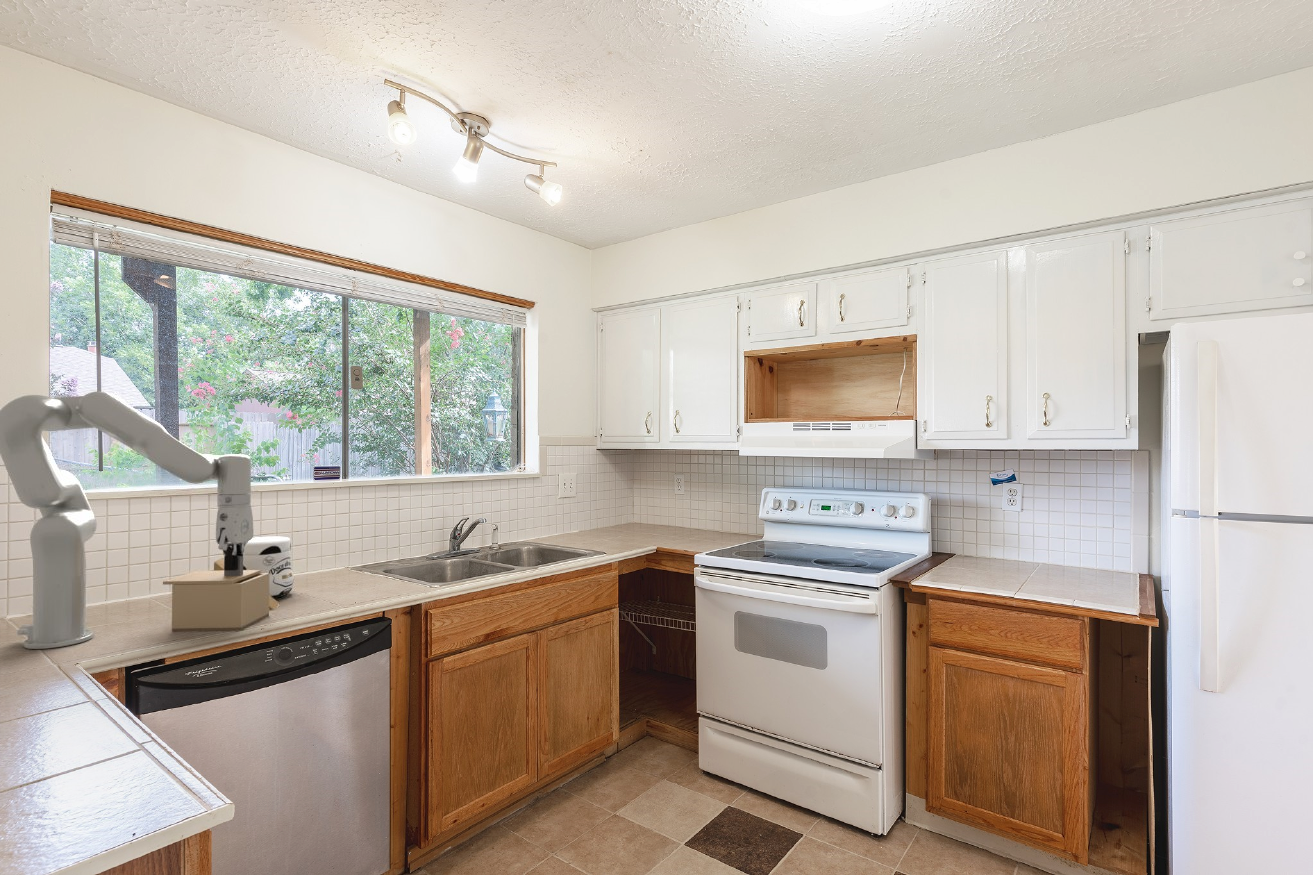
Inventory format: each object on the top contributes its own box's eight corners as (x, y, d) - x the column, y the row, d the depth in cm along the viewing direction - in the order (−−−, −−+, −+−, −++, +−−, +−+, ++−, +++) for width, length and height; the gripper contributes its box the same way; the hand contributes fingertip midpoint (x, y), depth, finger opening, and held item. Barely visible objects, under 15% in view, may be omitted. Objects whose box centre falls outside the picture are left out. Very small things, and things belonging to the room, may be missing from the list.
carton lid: (162, 584, 167) (163, 561, 168) (197, 573, 181) (197, 552, 181) (232, 583, 169) (232, 561, 169) (261, 572, 183) (261, 552, 183)
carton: (171, 631, 168) (172, 584, 168) (205, 617, 182) (205, 573, 182) (241, 630, 169) (241, 583, 169) (269, 616, 183) (269, 573, 183)
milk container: (296, 599, 202) (296, 541, 203) (229, 607, 193) (230, 546, 193) (290, 588, 217) (291, 534, 217) (228, 595, 207) (228, 538, 207)
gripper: (231, 503, 168) (231, 575, 168) (264, 498, 184) (263, 563, 184) (201, 503, 168) (200, 575, 167) (236, 498, 183) (235, 563, 183)
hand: (233, 568), depth 175 cm, fingers closed on carton lid
